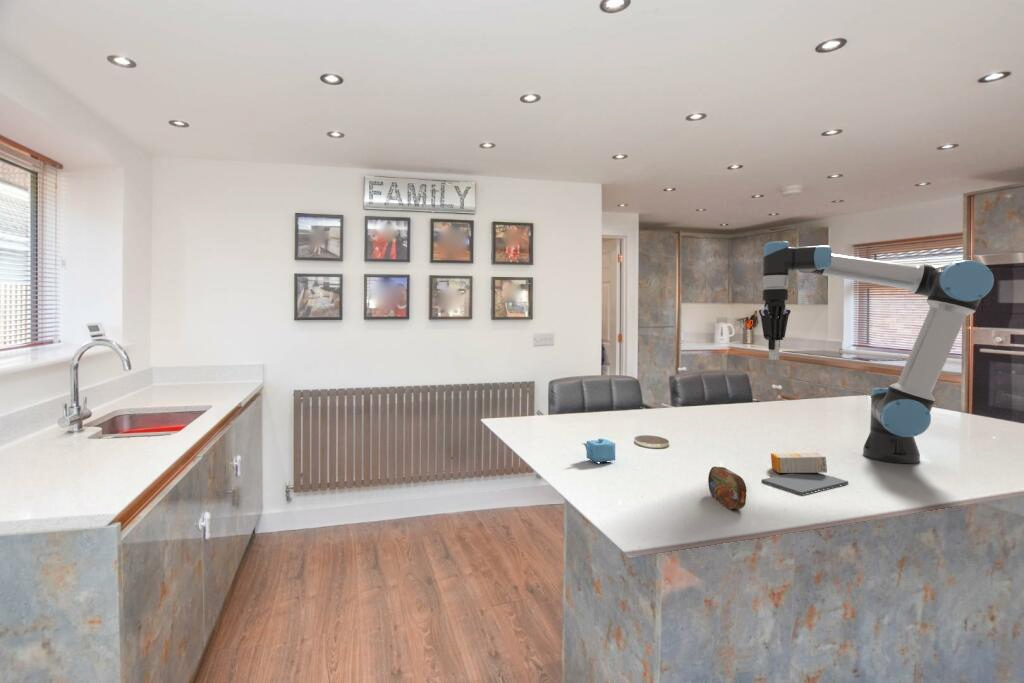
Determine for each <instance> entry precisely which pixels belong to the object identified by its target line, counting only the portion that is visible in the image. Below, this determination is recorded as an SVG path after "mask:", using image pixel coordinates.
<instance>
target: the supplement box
mask: <svg viewBox="0 0 1024 683" xmlns="http://www.w3.org/2000/svg"><path fill="white" fill-rule="evenodd" d="M770 460H771V468H772V469H773V470H775V471H776V472H777V473H778V474H780V473H781V474H790V473H820V474H823V473H824V474H825V473H828V468H827V457H826V456H824V455H822V454H821V453H818V452H789V453H788V452H781V453H779V452H778V453H776V452H775V453H774V452H773V453H770Z"/></svg>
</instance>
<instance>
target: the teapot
mask: <svg viewBox="0 0 1024 683" xmlns="http://www.w3.org/2000/svg"><path fill="white" fill-rule="evenodd" d="M581 445H584V447H585V450H586V458H587V459H588V460H590V461H591V460H592V461H591V462H594V463H597V462H601V463H602V462H603V463H604V462H606V461H610V462H612V461H616V443H615V442H613V441H611V440H609V439H605V438H598V439H594V440H587V441H586V442H584V443H583V442H582V443H581Z"/></svg>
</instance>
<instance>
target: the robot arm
mask: <svg viewBox="0 0 1024 683" xmlns="http://www.w3.org/2000/svg"><path fill="white" fill-rule="evenodd" d="M832 251H833V250H832V247H831V246H830V245H819V244H818V245H812V246H811V245H810V246H790V243H789V241H786V240H785V241H784V240H781V241H780V240H778V241H776V240H775V241H769V242H767V243H765V244H764V246H763V257H762V259H763V260H762V262H763V263H762V264H763V265H762V266H763V267H762V271H763V273H762V274H763V275H762V276H763V279H762V280H763V281H762V288H763V290H762V301H764V305H763V306H764V307H763V309H759V310H758V313H759V316H760V321H761V327H762V332H763V333H762V334H763V338H764V339H765V340H766V341H767V340H768V347H767V348H768V360H772V361H773V360H774V361H778V360H780V349H781V348H780V347H781V343H780V342H781V341H783V340H784V339H785V337H786V331H787V327H788V320H789V316H790V314H791V309H787V308H786V301H788V299H789V290H788V289H787V288H789V271H799V273H802V274H808V275H809V274H812V275H813V274H814V275H819V276H820V275H821V276H826V277H827V276H828V277H833V278H838V279H843V280H851V281H856V282H860V283H861V282H862V283H868V284H874V285H880V286H886V287H893V288H898V289H904V290H909V292H910V293H911V294H914V295H920V296H925V297H927V299H926V303H927V306H929V310H928V312H927V314H926V316H925V318H924V321H923V322H922V326H921V327H920V330H919V332H918V335H917V338H916V339H915V342H914V344H913V346H912V349H911V351H910V353H909V355H908V357H907V360H906V363H905V364H904V367H903V370H902V372H901V374H900V376H899V378H898V380H897V382H894V383H892V384H890V385H889V386H888V387H874V388H873V389H872V390H871V394H870V399H871V400H870V424H869V426H870V427H869V428H870V430H869V434H868V436H867V438H866V441H865V443H864V446H863V448H862V449H863V450H862V454H863V455H864V456H865V457H868V458H870V459H874V460H877V461H883V462H888V463H896V464H897V463H898V464H916V463H919V462H920V461H921V459H920V458H921V454H920V453H921V452H920V450H919V448H918V445H917V441H916V439H915V437H917V436H919V435H922V434H923V433H925V431H927V430H928V429H929V427H930V425H931V421H932V415H931V410H932V409H933V407H934V404H935V402H936V398H935V397H934V395H933V390H934V389H935V386H936V384H937V381H938V379H939V377H940V375H941V373H942V371H943V369H944V367H945V364H946V361H947V359H948V357H949V355H950V352H951V350H952V348H953V346H954V343H955V341H956V340H957V338H958V335H959V333H960V330H961V329H962V327H963V324H964V321H965V319H966V317H968V316H969V315H972V314H974V313H976V311H977V309H978V307H979V304H980V302H982V301H981V300H982V298H983V299H984V297H986V296H987V295H988V294H989V293H990V292H991V290H992V289H993V286H994V282H995V279H994V274H993V272H992V270H991V269H990V268H989V267H988V266H987V265H985V264H984V263H982V262H980V261H976V260H970V259H969V260H968V259H964V260H962V259H960V260H955V261H953V262H951V263H947V264H928V263H927V264H926V263H921V264H919V265H910V264H902V263H896V262H890V261H884V260H883V261H882V260H877V259H870V258H869V259H868V258H863V257H857V256H848V255H844V254H835V253H833V252H832Z"/></svg>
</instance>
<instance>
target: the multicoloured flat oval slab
mask: <svg viewBox="0 0 1024 683" xmlns="http://www.w3.org/2000/svg"><path fill="white" fill-rule="evenodd" d="M707 480H708V483H707V484H708V489H709V490H708V491H709V493H710V495H711V497H712V498H713V499H714V498H715V499H716V500H715V499H714V500H715V501H717V502H718V501H719V502H718V503H720V504H721V505H723V506H724V507H725V508H726V509H729V510H741V509H743V508H744V507H745V505H746V501H747V491H748V490H747V486H746V482H745V480H744V479H743V477H742V476H740V475H738V474H737V473H736V472H733V471H732V470H730V469H728V468H726V467H724V466H723V467H722V466H712V467H711V468H710V470H709V472H708V478H707Z"/></svg>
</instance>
